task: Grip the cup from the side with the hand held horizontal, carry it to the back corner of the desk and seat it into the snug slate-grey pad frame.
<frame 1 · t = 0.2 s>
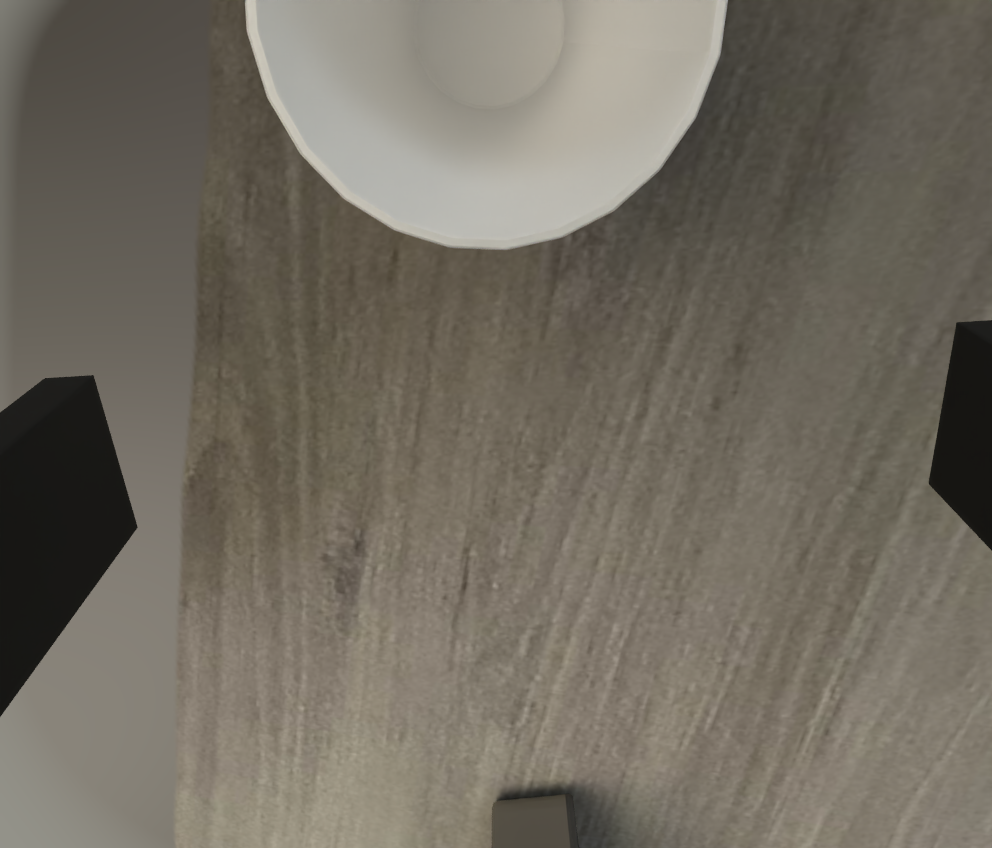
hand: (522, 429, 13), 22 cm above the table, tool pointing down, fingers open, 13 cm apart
cup: (488, 28, 31), on the table
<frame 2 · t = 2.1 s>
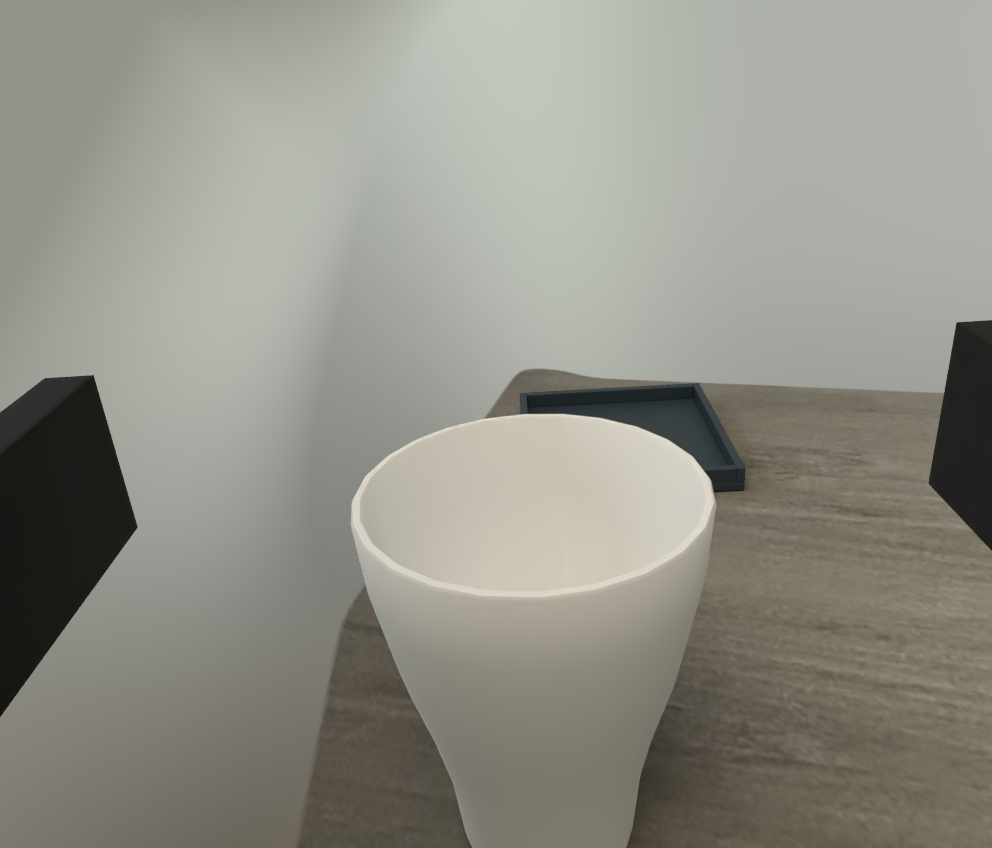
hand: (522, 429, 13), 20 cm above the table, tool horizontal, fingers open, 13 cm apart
cup: (548, 818, 30), on the table
pad frame: (620, 446, 56), on the table
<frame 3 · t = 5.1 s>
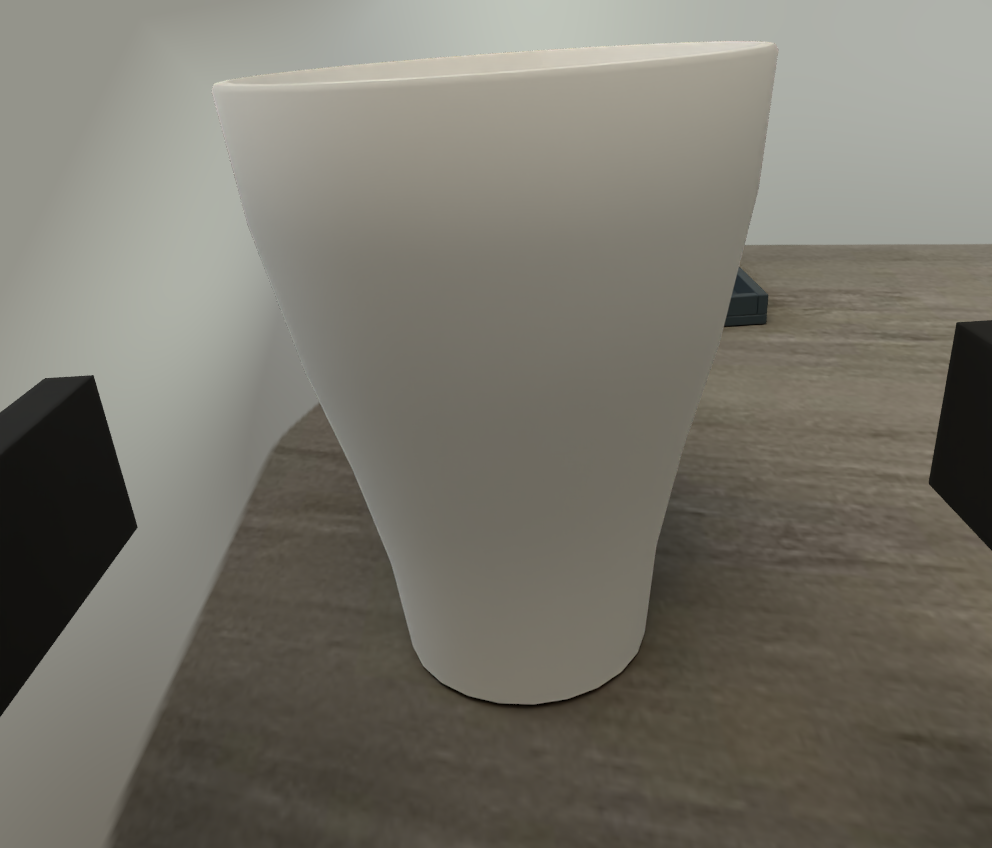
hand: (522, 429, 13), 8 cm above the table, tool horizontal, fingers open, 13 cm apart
cup: (527, 630, 22), on the table
pad frame: (617, 294, 48), on the table
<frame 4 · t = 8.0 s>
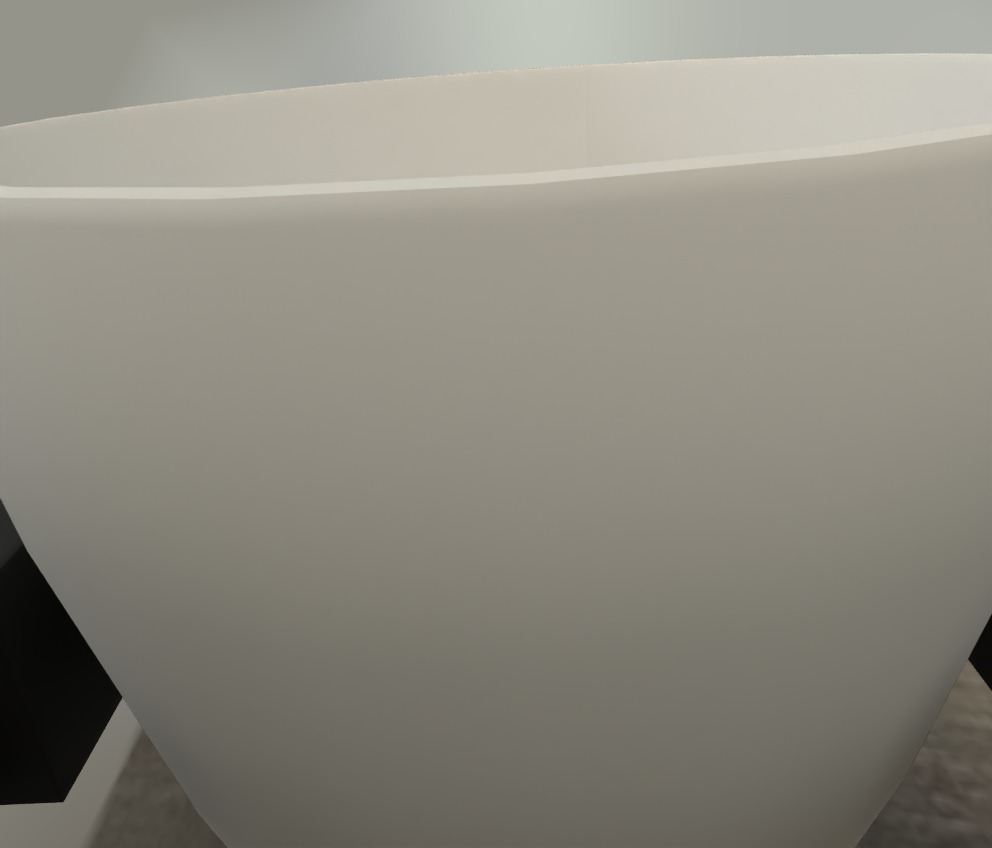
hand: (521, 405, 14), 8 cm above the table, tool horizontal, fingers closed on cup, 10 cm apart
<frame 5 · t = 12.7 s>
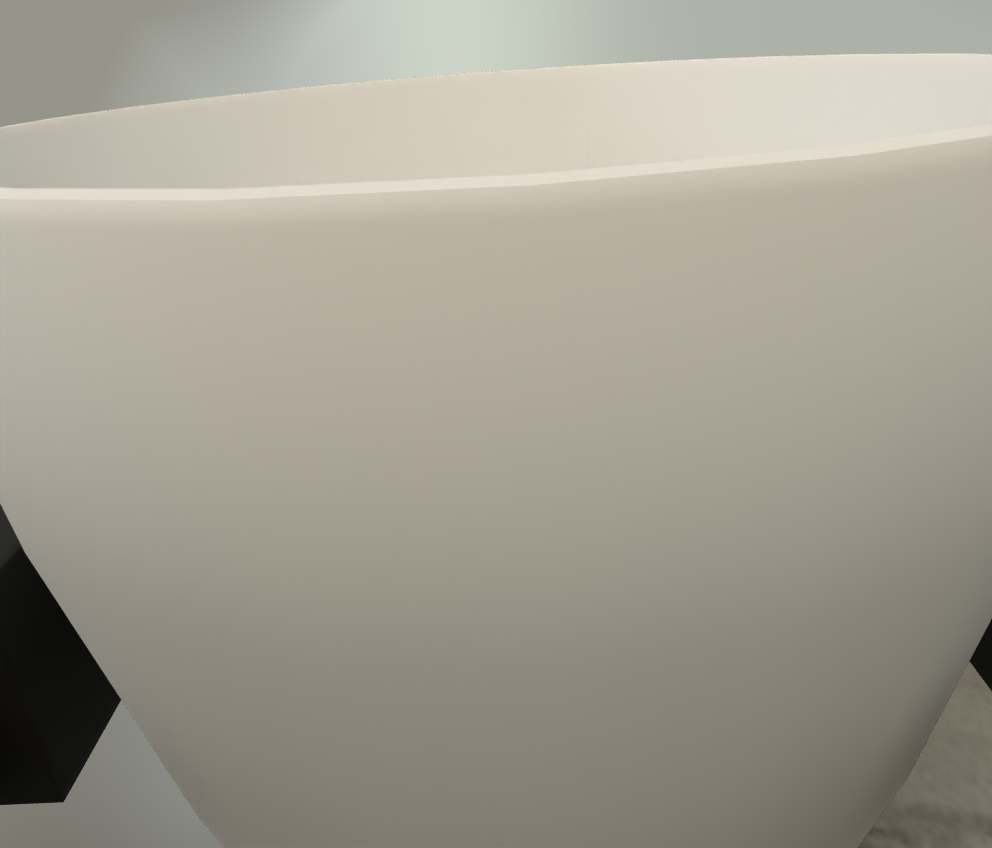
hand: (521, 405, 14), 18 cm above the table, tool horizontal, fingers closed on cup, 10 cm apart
when the fingers open (9 cm above the table, at t = 17.3 s): cup stays where it is, resting on pad frame.
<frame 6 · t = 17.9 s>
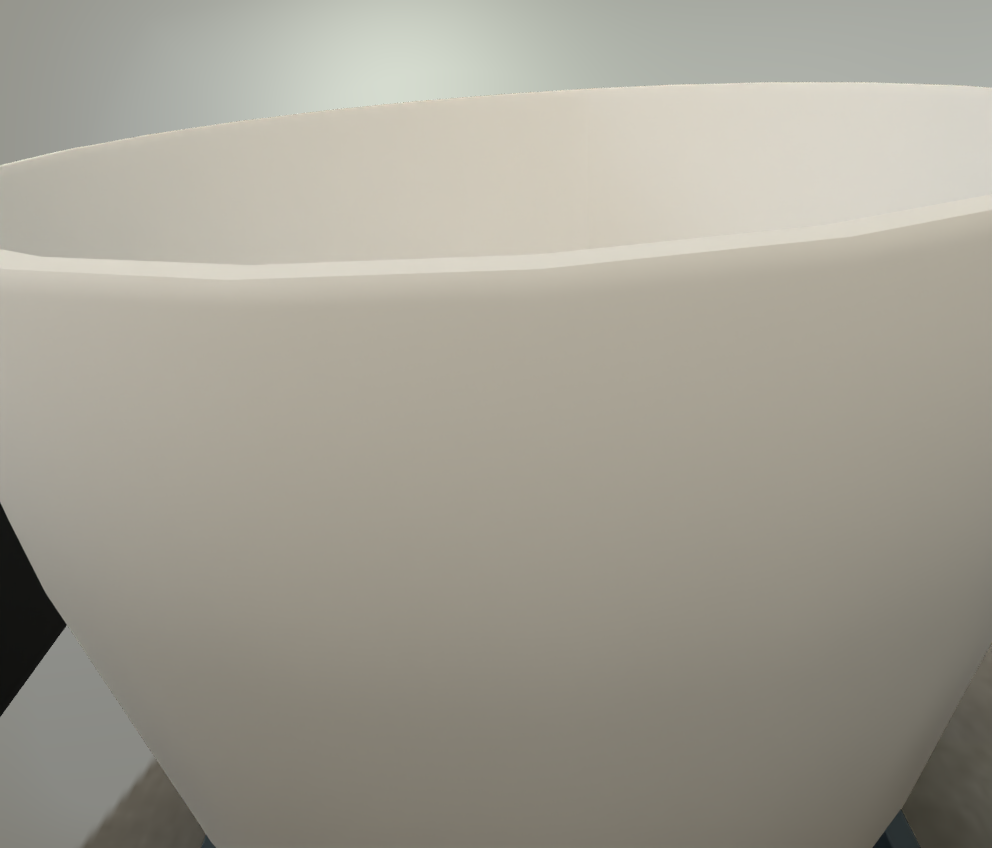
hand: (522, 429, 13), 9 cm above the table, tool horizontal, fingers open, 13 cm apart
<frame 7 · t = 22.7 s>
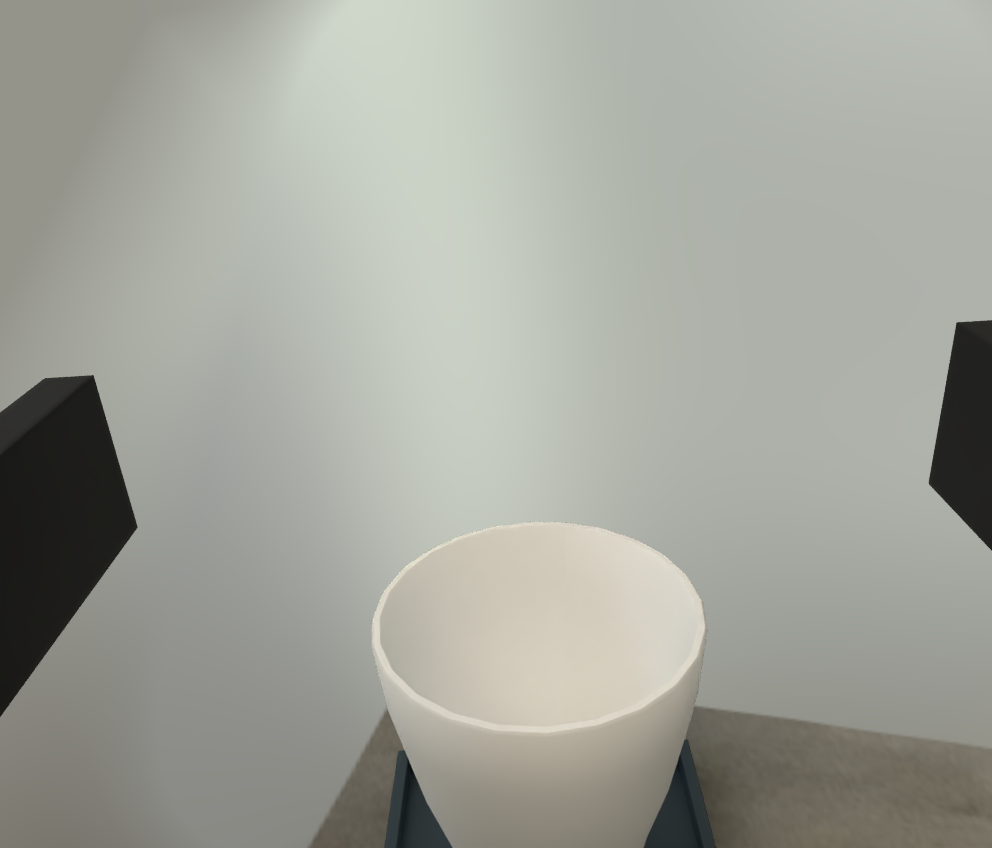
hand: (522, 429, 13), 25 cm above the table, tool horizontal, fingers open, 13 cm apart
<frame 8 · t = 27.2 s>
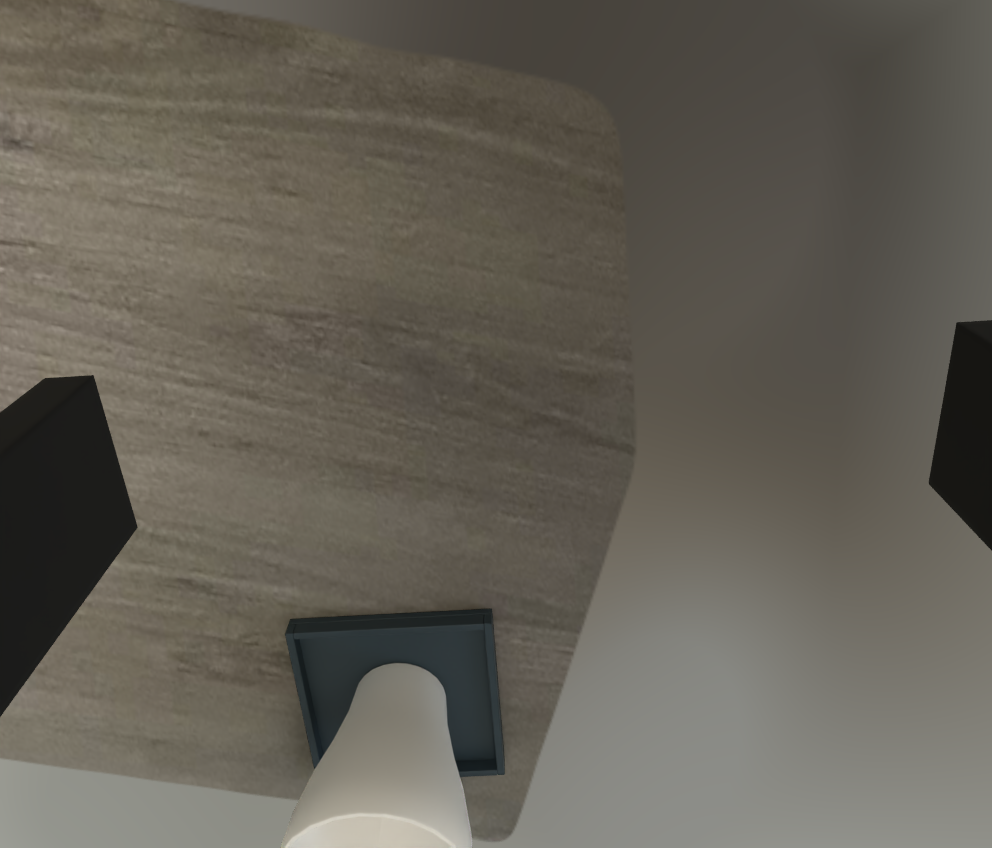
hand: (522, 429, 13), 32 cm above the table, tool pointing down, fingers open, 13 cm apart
cup: (401, 694, 56), resting on pad frame
pad frame: (402, 691, 57), on the table
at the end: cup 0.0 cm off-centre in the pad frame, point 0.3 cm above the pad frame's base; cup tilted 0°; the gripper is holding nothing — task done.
